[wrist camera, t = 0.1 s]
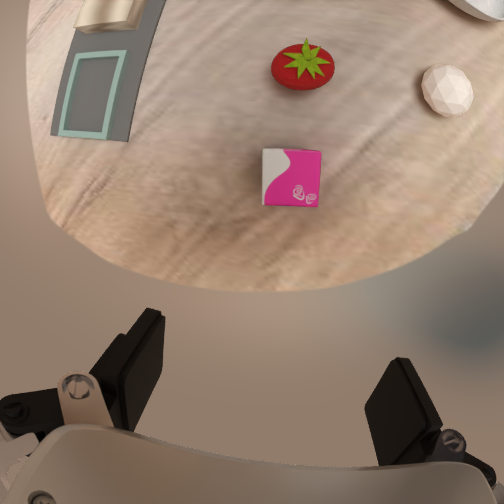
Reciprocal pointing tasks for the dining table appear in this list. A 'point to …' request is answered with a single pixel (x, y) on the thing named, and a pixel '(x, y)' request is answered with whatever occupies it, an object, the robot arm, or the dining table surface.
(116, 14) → the beige block
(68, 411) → the robot arm
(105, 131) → the teal frame
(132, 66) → the charcoal mat
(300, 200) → the supplement box
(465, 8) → the serving bowl
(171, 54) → the dining table surface
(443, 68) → the geometric ball
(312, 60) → the strawberry
